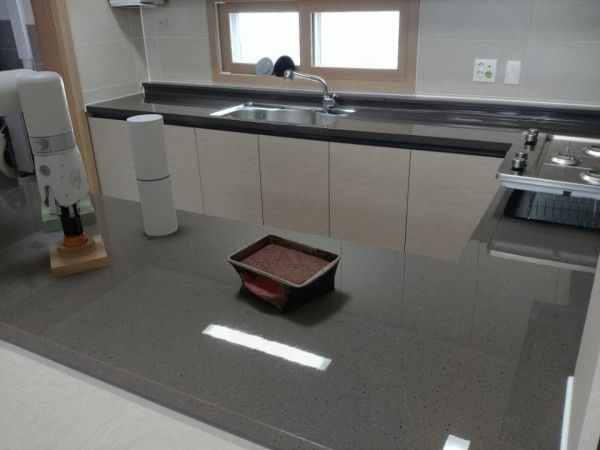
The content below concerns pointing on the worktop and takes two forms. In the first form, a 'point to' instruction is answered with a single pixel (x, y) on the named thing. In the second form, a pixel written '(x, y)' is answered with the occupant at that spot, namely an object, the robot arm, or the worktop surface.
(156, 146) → the cylindrical container
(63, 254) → the button block
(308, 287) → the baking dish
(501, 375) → the worktop surface
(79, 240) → the button
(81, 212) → the panel
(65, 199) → the robot arm
